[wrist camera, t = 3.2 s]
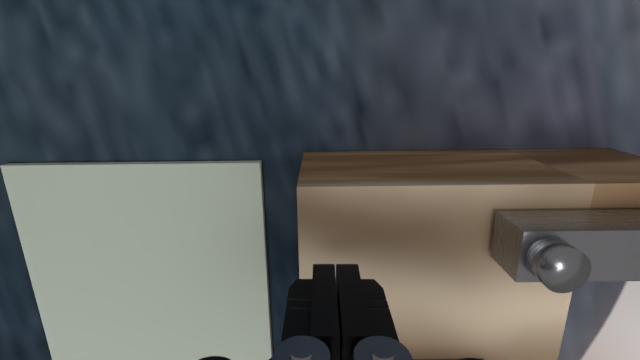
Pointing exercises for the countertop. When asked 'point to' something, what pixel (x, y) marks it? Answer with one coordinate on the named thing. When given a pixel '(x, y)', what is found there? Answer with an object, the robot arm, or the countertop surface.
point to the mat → (146, 257)
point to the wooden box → (489, 168)
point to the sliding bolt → (568, 246)
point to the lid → (441, 258)
